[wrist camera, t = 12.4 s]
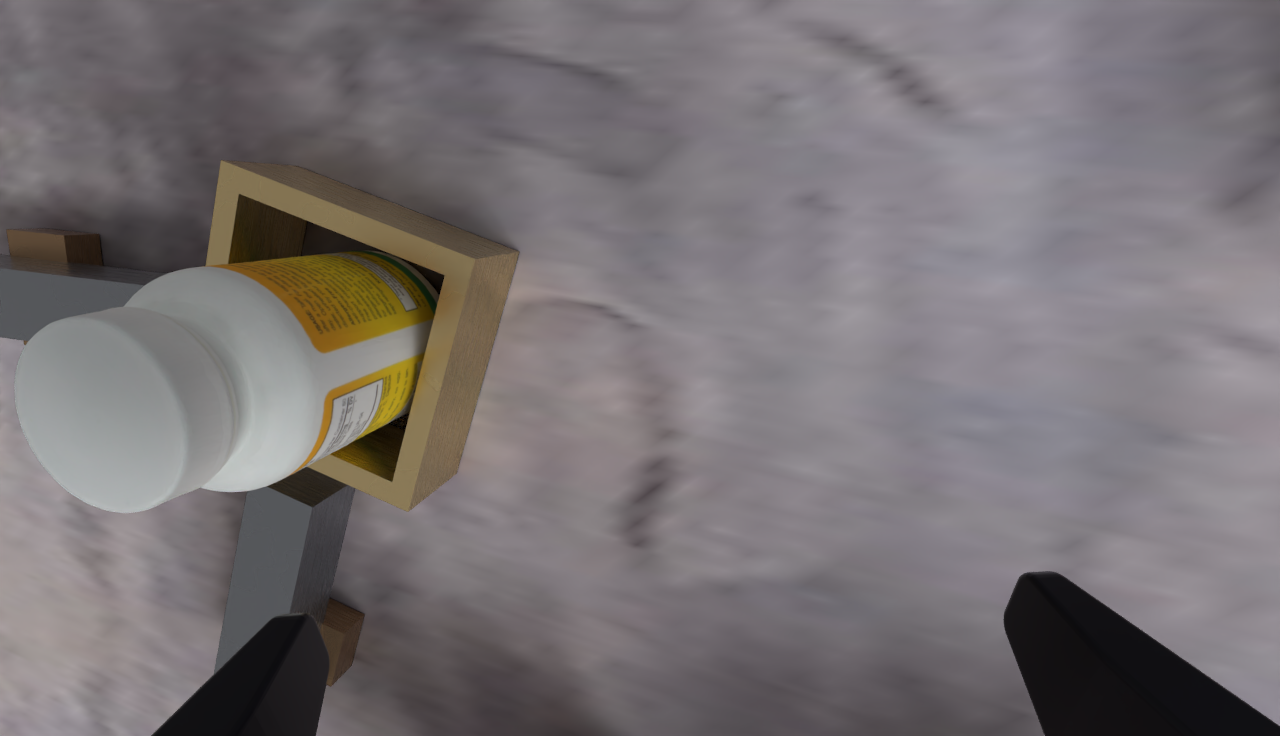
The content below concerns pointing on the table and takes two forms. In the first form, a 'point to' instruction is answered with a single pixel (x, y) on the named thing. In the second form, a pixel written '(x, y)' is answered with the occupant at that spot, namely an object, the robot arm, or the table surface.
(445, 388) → the wooden box with ramps
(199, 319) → the supplement bottle
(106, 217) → the table surface
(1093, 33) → the table surface
